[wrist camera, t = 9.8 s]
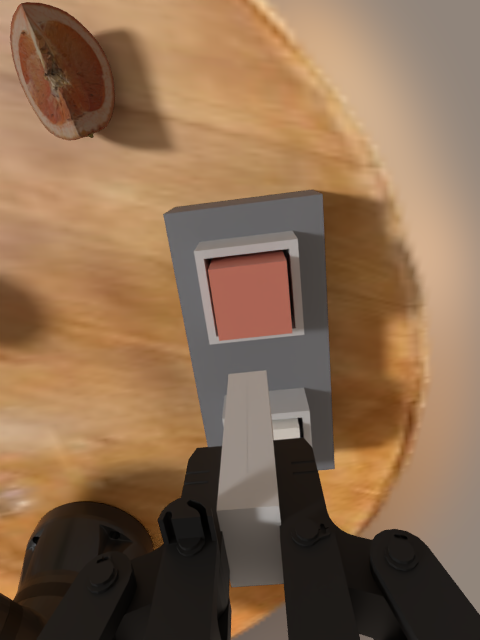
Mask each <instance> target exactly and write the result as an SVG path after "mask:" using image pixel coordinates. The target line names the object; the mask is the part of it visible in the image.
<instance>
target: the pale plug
mask: <svg viewBox="0 0 480 640" xmlns="http://www.w3.org/2000/svg"><path fill="white" fill-rule="evenodd" d="M272 425H273V435H274V440H281V439H292V438H300V430H299V424H298V418H290V419H279V420H272Z"/></svg>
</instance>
